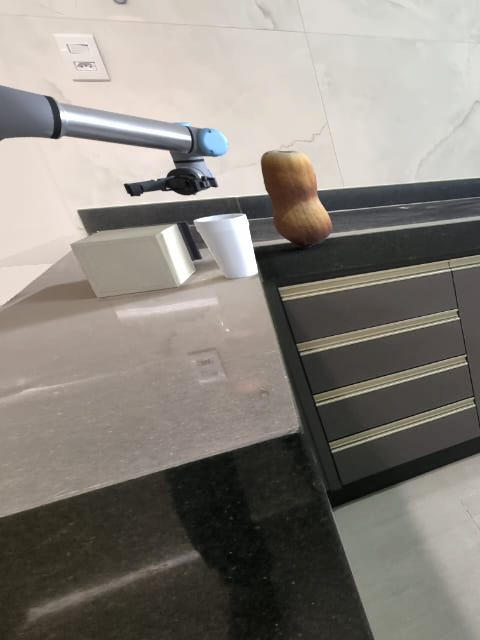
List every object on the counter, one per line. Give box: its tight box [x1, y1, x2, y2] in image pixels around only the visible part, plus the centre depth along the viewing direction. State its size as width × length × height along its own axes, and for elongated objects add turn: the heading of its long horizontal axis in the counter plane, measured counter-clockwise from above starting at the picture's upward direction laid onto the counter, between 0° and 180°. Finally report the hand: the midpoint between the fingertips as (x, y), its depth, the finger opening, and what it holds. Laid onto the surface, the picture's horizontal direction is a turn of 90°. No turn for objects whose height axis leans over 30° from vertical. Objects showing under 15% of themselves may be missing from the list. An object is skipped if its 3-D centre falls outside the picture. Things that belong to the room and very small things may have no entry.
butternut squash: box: [260, 149, 333, 250], centre depth 141 cm, size 14×13×25 cm
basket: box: [120, 220, 203, 263], centre depth 127 cm, size 20×13×9 cm, turn 25°
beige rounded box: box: [69, 224, 197, 299], centre depth 116 cm, size 15×14×11 cm
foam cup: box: [193, 213, 258, 280], centre depth 119 cm, size 10×9×13 cm
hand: (163, 188), depth 137 cm, fingers open, 13 cm apart
